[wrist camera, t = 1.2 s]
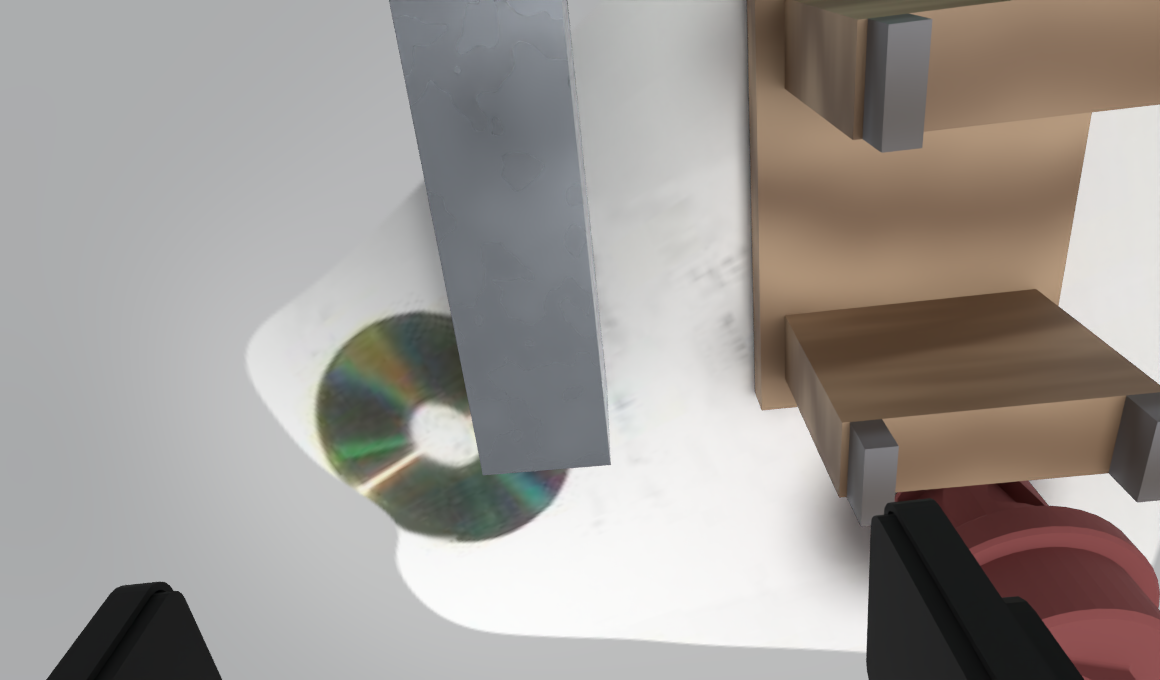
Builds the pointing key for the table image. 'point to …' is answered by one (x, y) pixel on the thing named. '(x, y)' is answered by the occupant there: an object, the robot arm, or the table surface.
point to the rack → (940, 238)
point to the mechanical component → (1063, 574)
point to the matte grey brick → (511, 223)
